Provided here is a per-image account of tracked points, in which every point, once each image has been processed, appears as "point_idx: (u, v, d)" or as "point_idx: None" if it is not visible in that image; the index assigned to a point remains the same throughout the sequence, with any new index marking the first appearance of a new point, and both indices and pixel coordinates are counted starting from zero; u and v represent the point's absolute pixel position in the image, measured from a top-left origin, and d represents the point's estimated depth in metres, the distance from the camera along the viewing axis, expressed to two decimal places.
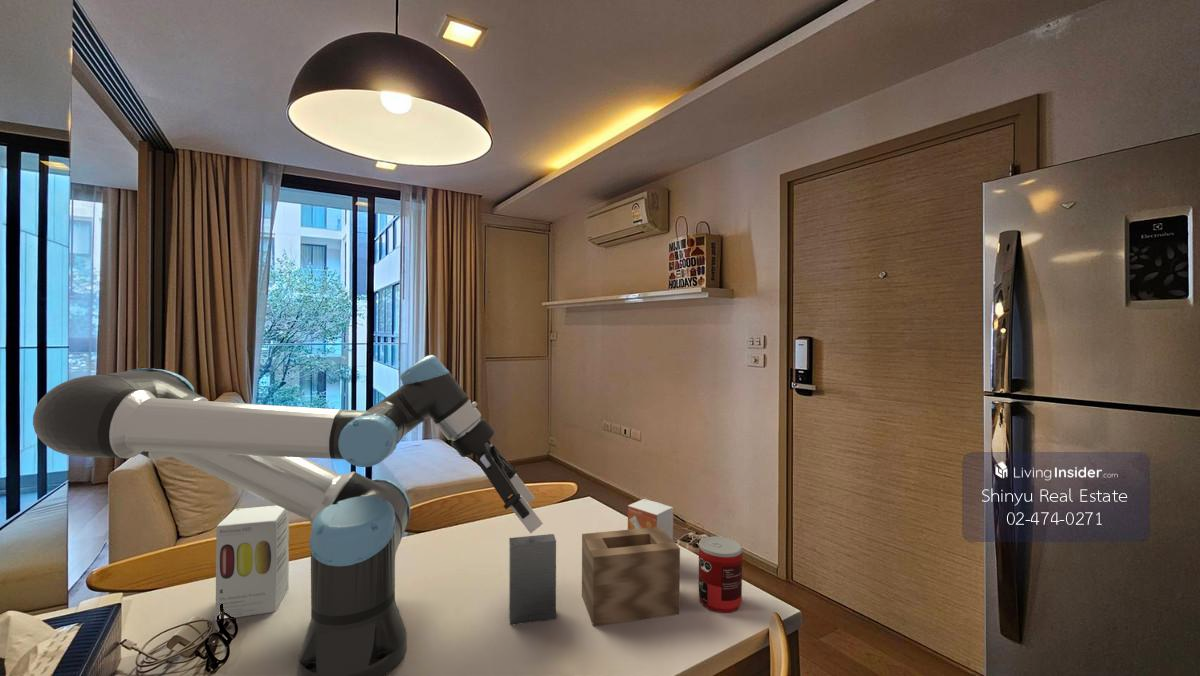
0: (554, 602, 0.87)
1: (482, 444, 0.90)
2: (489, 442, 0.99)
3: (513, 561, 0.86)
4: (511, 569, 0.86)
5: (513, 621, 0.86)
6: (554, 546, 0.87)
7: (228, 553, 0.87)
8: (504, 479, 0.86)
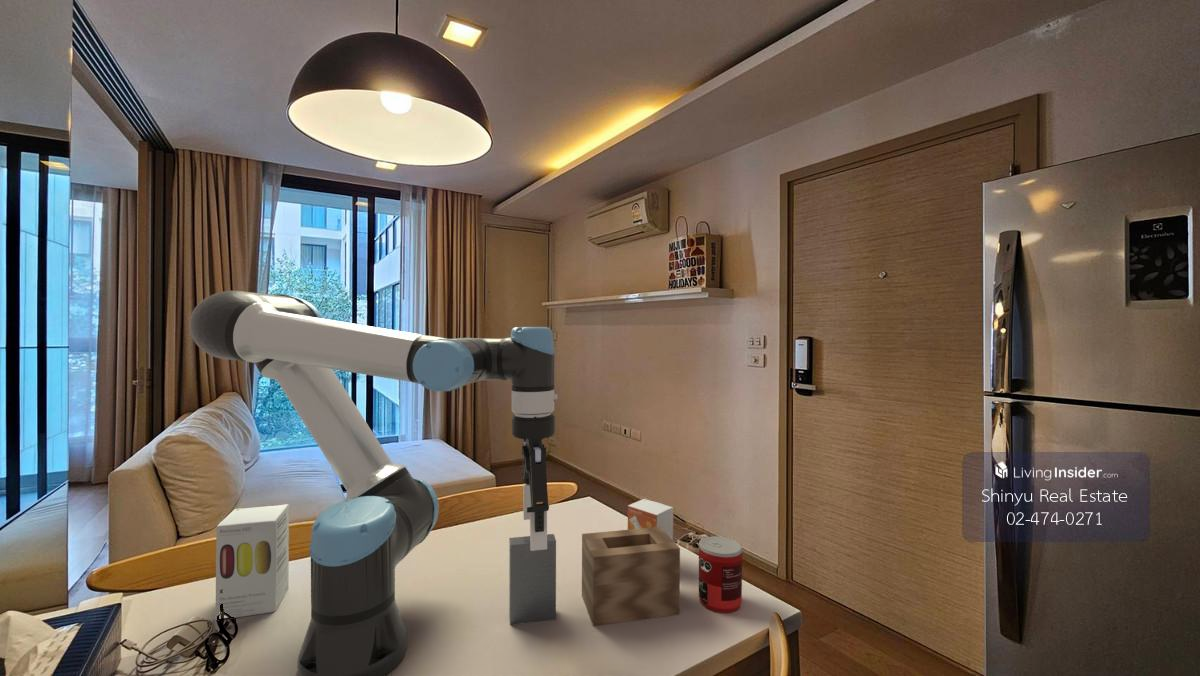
0: (554, 602, 0.87)
1: (541, 437, 0.84)
2: None
3: (513, 561, 0.86)
4: (511, 569, 0.86)
5: (513, 621, 0.86)
6: (554, 546, 0.87)
7: (228, 553, 0.87)
8: (545, 483, 0.80)
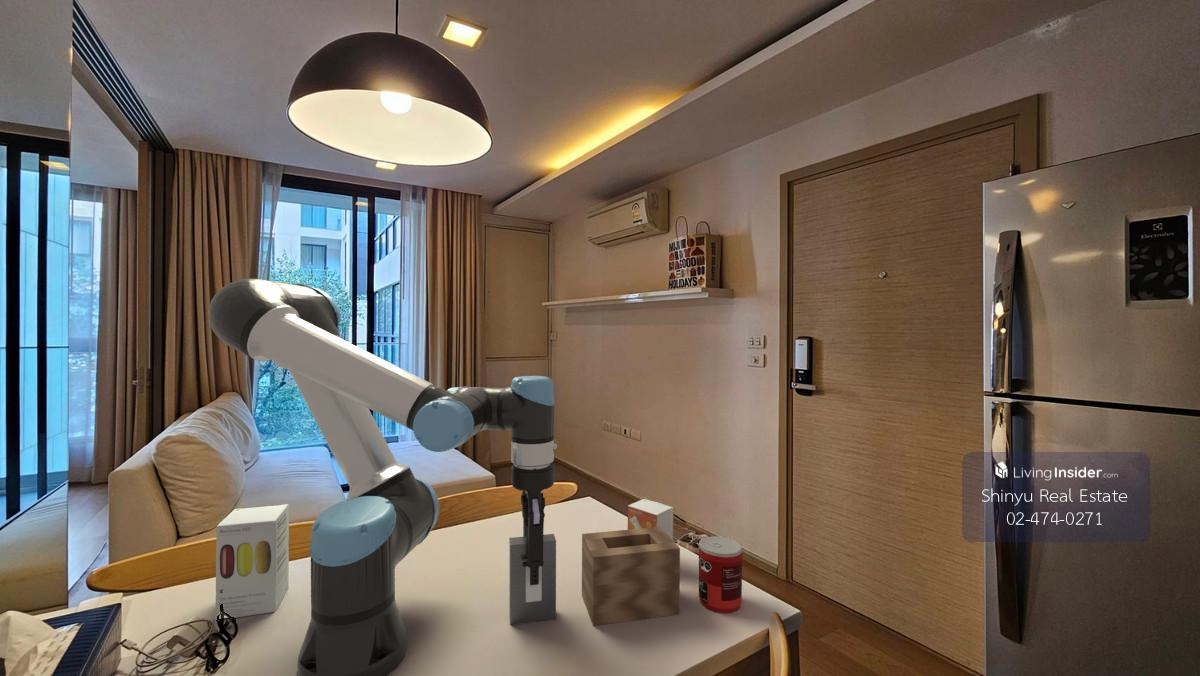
0: (554, 602, 0.87)
1: (540, 489, 0.84)
2: None
3: (513, 561, 0.86)
4: (511, 569, 0.86)
5: (513, 621, 0.86)
6: (554, 546, 0.87)
7: (228, 553, 0.87)
8: (541, 544, 0.83)
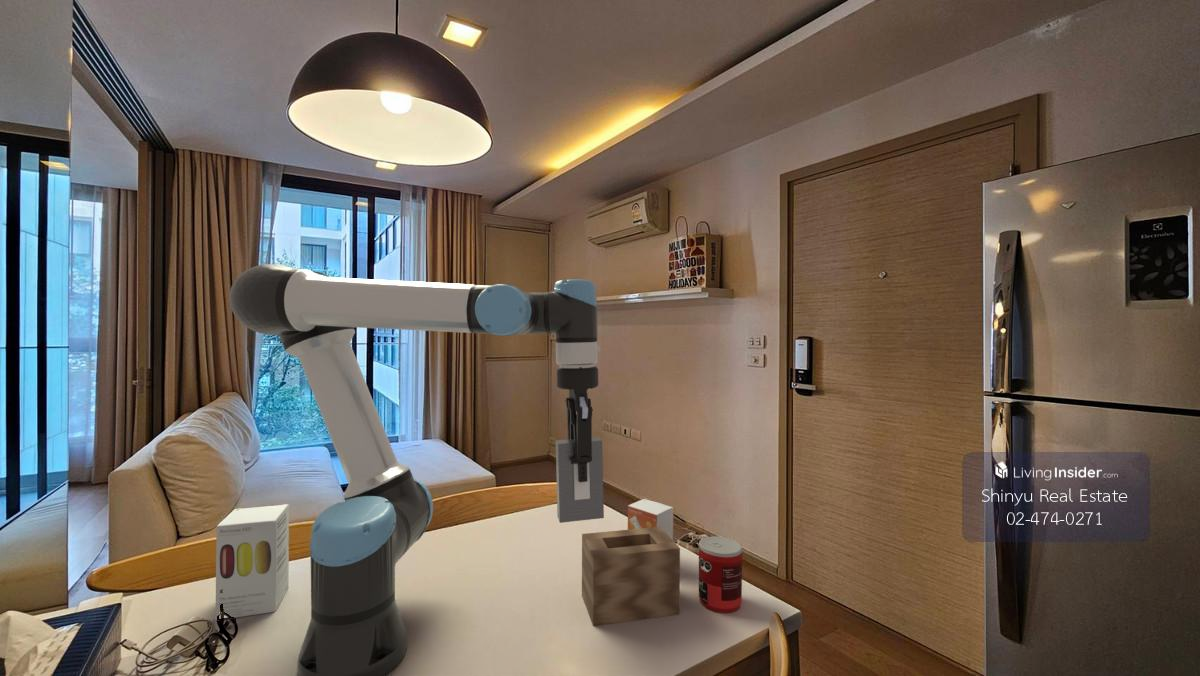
0: (602, 501, 0.89)
1: (587, 387, 0.86)
2: None
3: (561, 460, 0.87)
4: (559, 468, 0.87)
5: (563, 519, 0.87)
6: (600, 446, 0.89)
7: (228, 553, 0.87)
8: (590, 439, 0.84)
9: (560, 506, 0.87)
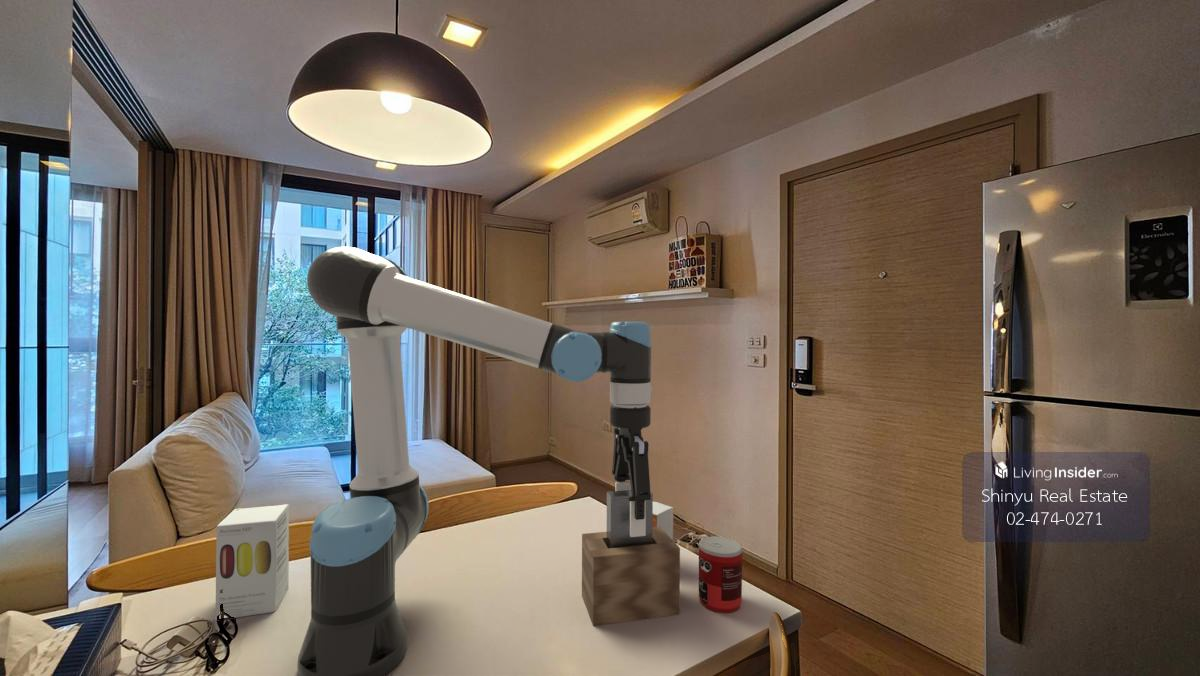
0: None
1: (641, 427, 0.88)
2: None
3: (614, 512, 0.90)
4: (611, 520, 0.90)
5: None
6: (651, 499, 0.91)
7: (228, 553, 0.87)
8: (647, 474, 0.85)
9: None
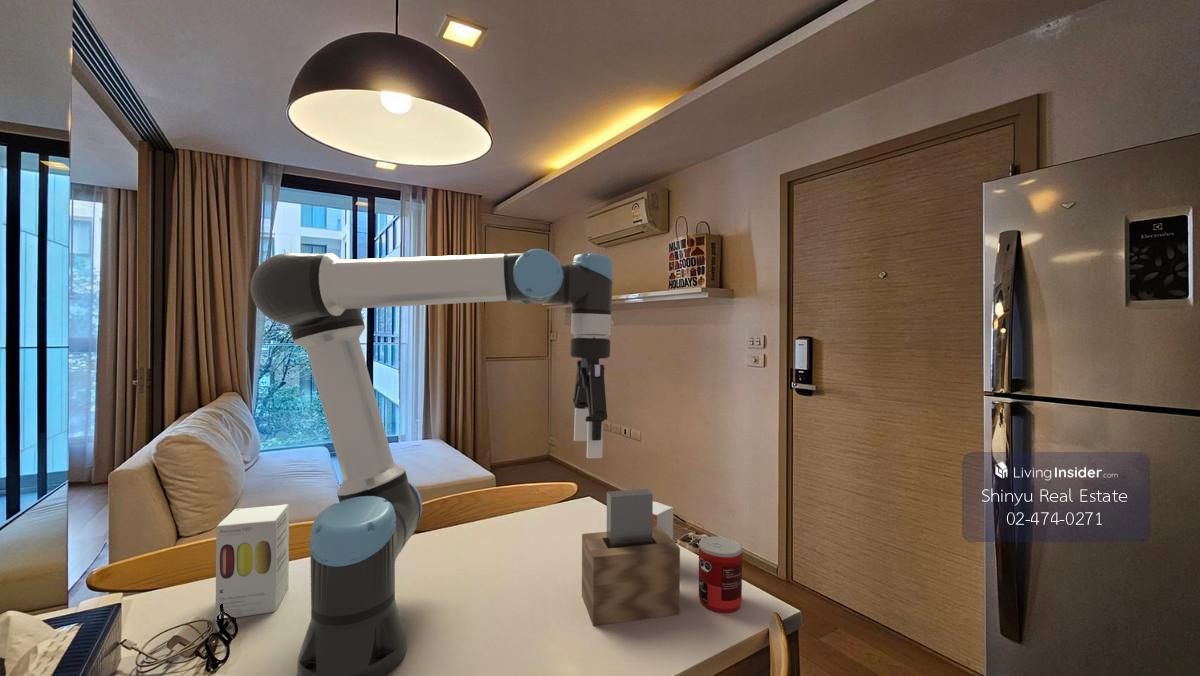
0: None
1: (599, 356, 0.90)
2: None
3: (614, 512, 0.90)
4: (611, 520, 0.90)
5: None
6: (651, 499, 0.91)
7: (228, 553, 0.87)
8: (604, 395, 0.86)
9: None
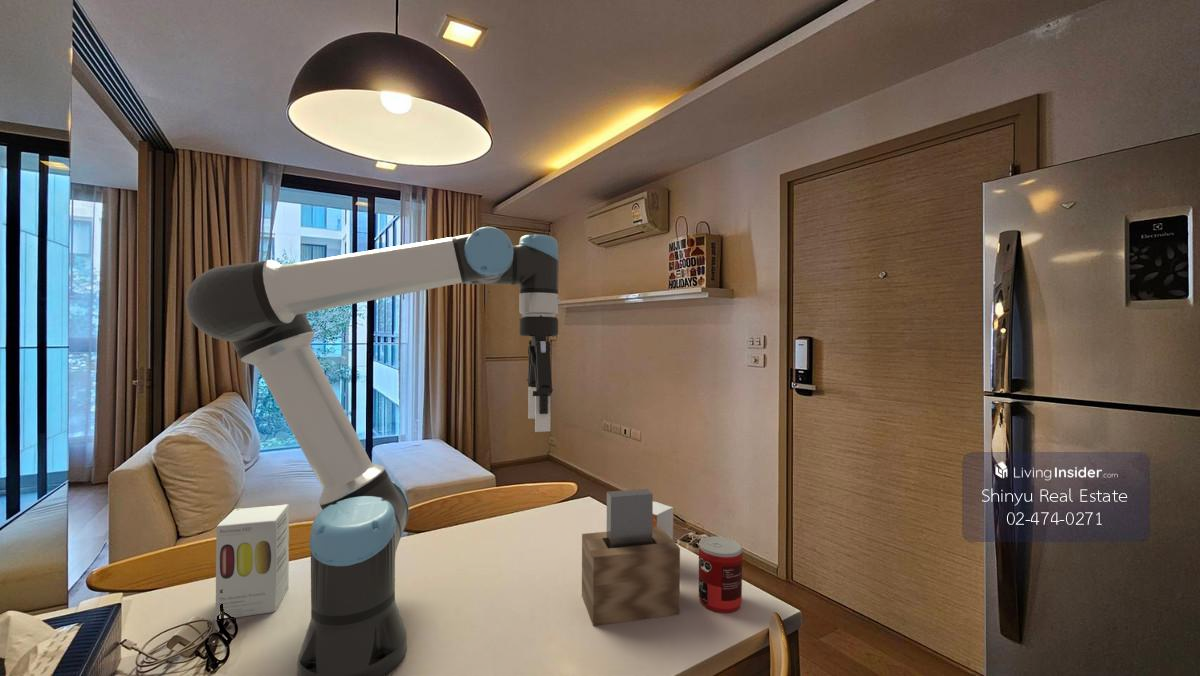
0: None
1: (546, 334, 0.93)
2: None
3: (614, 512, 0.90)
4: (611, 520, 0.90)
5: None
6: (651, 499, 0.91)
7: (228, 553, 0.87)
8: (549, 370, 0.89)
9: None
